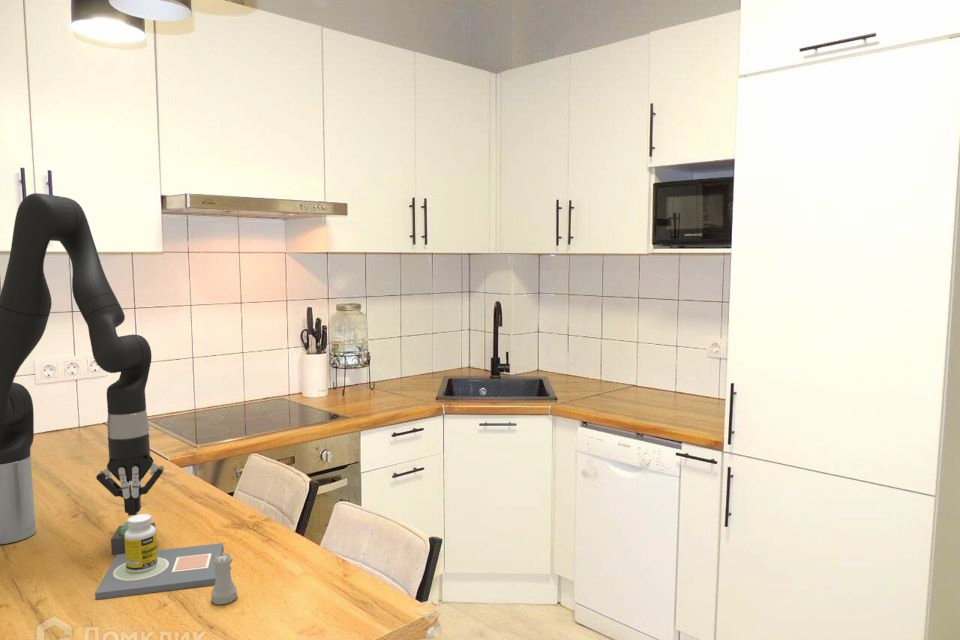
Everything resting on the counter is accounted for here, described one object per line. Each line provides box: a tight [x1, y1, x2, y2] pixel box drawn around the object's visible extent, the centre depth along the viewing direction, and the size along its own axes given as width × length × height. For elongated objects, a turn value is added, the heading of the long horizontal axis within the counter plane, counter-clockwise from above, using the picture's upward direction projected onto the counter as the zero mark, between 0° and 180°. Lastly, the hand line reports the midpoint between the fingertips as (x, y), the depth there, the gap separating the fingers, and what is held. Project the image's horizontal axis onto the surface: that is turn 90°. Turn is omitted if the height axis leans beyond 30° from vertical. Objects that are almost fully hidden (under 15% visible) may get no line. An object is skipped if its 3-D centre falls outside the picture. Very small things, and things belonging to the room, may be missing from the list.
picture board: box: [94, 542, 225, 601], centre depth 131 cm, size 20×16×1 cm
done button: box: [120, 521, 129, 536], centre depth 142 cm, size 4×4×2 cm
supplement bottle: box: [124, 513, 158, 573], centre depth 130 cm, size 5×5×10 cm
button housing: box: [110, 521, 156, 557], centre depth 143 cm, size 7×7×4 cm
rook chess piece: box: [210, 552, 238, 606], centre depth 121 cm, size 4×4×8 cm
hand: (133, 513), depth 142 cm, fingers closed
